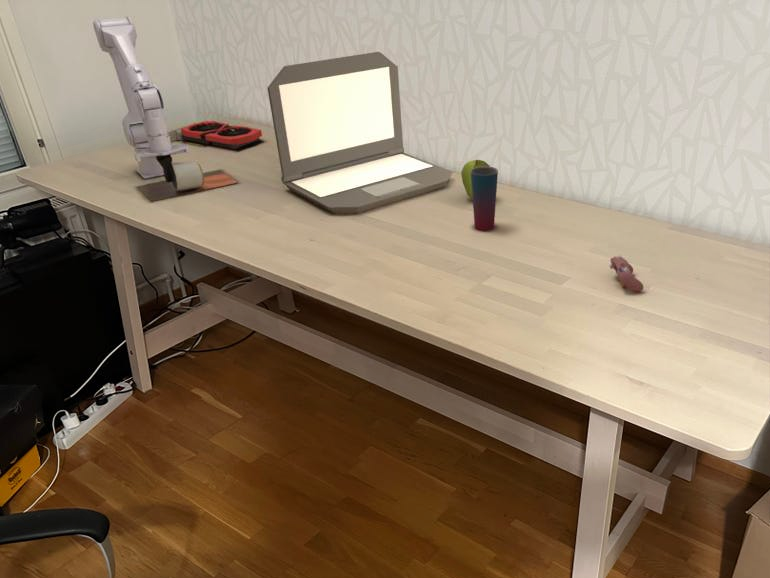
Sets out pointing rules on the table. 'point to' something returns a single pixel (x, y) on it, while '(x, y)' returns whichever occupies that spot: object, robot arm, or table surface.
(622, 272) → the reddish brown lumpy piece
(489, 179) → the cup
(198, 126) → the graphics card
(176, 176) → the ceramic mug
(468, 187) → the apple
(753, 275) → the table surface
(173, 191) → the walnut board
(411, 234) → the table surface
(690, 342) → the table surface
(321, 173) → the laptop
